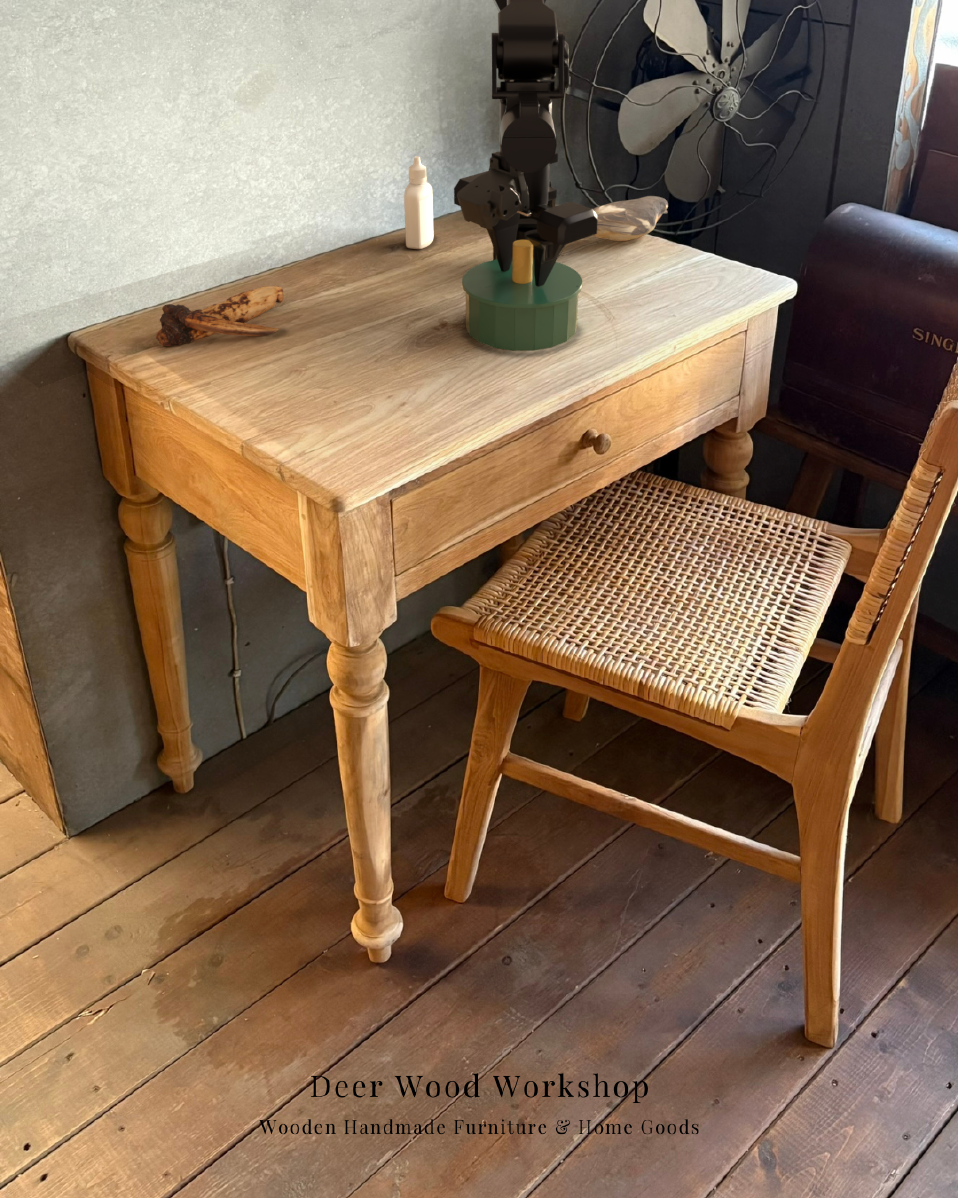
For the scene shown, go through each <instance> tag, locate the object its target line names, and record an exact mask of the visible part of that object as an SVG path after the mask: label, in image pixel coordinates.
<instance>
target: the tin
mask: <svg viewBox="0 0 958 1198" xmlns="http://www.w3.org/2000/svg"><path fill="white" fill-rule="evenodd" d="M578 308H579V294H578V295H576V296H575V297H574V298H572V299H570V300H568V301H566V302H563V303H560V304H557V305H553V306H548V307H541V308H529V309H518V308H506V307H499V306H494V305H490V304H486V303H483V302H480V301H478V300H476V299H474V298H472V297H471V296H469V295H468V294H467V293H466V292H465V329H466V331H467V333H468V335H469V336H470V337H471V338H472V339H474V340H475V341H476V342H478V343H480V344H483V345H485V346H488V347H491V348H493V349H498V350H506V351H511V352H530V351H531V352H534V351H539V350H540V351H541V350H546V349H552V348H555V347H557V346H559V345H562V344H565V343H567V342H568V341H569V340H571V338H573V337H574V336H575V335H576V332H577V326H578V310H579V309H578Z"/></svg>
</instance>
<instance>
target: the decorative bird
mask: <svg viewBox="0 0 958 1198" xmlns="http://www.w3.org/2000/svg"><path fill="white" fill-rule="evenodd" d="M668 207H669V203H668V200H666V199H665V198H663V197H660V196H655V195H647V196H643V197H639V198H635V199H628V200H627V199H626V200H619V201H613V202H609V203H606V204H603V205H599V206H596V207H594V208H592V209H593V210H594V212H595V213H596V214H597V215H598V222H597V234H595V235H592V236H593V237H596V238H599V239H605V240H609V241H614V242H615V241H616V242H617V241H618V242H627V241H631V240H634V239H638V238H642V237H644V236H646V235H648V234H649V233H651V232H652V231H654V229H655V227H656V225H657V222H659V220H660V219H661V217H662V215H663V214H668V210H667V209H668Z"/></svg>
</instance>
